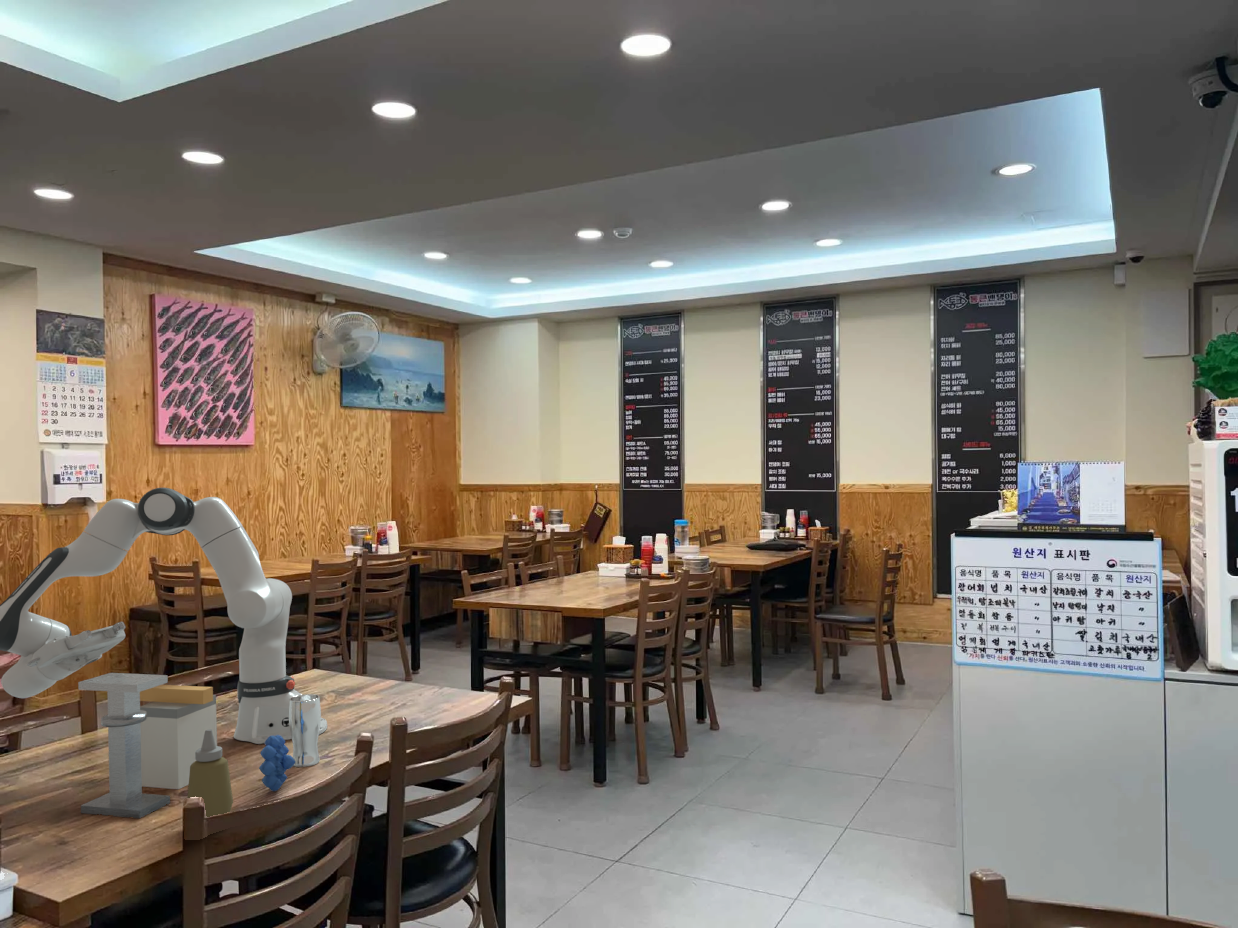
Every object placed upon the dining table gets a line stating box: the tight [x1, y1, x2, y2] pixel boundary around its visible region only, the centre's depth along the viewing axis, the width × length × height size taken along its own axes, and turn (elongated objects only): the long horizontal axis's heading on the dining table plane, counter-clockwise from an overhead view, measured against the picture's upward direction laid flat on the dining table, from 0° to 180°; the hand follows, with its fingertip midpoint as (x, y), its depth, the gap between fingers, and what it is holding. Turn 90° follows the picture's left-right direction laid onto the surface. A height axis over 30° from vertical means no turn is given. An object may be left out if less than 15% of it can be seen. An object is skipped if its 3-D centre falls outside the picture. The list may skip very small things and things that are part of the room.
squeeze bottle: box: [186, 730, 234, 817], centre depth 168 cm, size 8×8×18 cm
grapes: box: [258, 735, 295, 792], centre depth 186 cm, size 12×7×12 cm, turn 2°
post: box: [77, 672, 171, 819], centre depth 178 cm, size 14×8×26 cm, turn 76°
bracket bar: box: [140, 684, 214, 704], centre depth 195 cm, size 20×3×3 cm, turn 75°
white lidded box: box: [140, 694, 218, 790], centre depth 195 cm, size 10×12×17 cm
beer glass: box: [289, 693, 322, 768], centre depth 203 cm, size 7×7×15 cm
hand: (105, 629), depth 200 cm, fingers open, 8 cm apart
